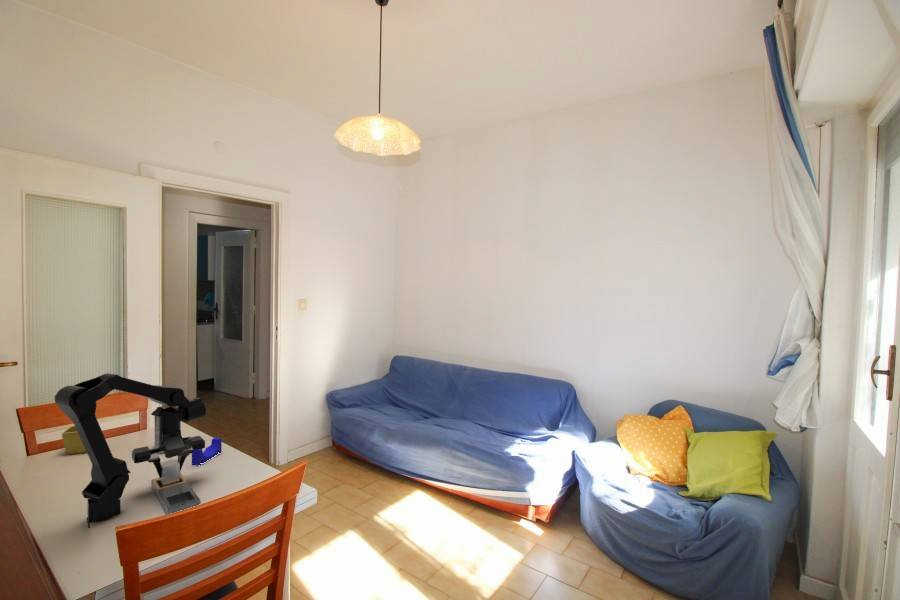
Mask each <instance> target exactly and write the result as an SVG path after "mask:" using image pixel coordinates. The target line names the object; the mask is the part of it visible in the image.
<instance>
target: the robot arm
mask: <svg viewBox="0 0 900 600" xmlns="http://www.w3.org/2000/svg"><path fill="white" fill-rule="evenodd" d="M114 390H117V391H120V392H124V393H128V394H133V395H136V396H140V397H145V398H146V399H149V401H152V402H155V403H157V404H159V405H161V406H172V407H167V408H161V406H157V407H156V409H155V410H153V411H152V412H151V414H150V415H151V416H153V417H155V416H158V417H159V448H154V447H153V448H149V446H141V447H137V448H134V449H132V451H131V460H132V461H133V463H134V464H140V463H143V462H144V463H145V462H148V463H150V464H151V463H153V465H154V468H155V470H156V472H157V475H158V478H161V477H162V472H161V465H160V462H161V458H160V456H159V455H160V454H161V453H162V454H163V455H164V458H166V459H172V458H174V457H177V460H178V462H179V463H180V472H182V468H183V465H184V464H185V461H186V459H187V458H188V456H189V455H190V454H191V455H192V453H193V451H192V449H193V450H199V449H202V450H203V449H206V441H205V439H204V438H203V437H202V436H201V435H196V436H187V437H186V436H185V437H183V436H182V430H181V429H182V427H181V424H182V422H183V423H188V422H191V421H195V420H198V419H202V418H204V417H205V415H206V412H207V408H206V407H205V403H203V401H202V399H203V398H201V397H194V398H193V399H190V400H189V399H188V398H187V397H186V396H185V392H184V390H183V389H182V388H179V387H174V386H169V385H157V384H155V385H154V384H153V385H152V384H150V383H146V382H142V381H139V380H138V381H137V380H134V379H131V378H126V377H124V376H121V375H119V374H115V373H109V372H108V373H107V372H106V373H103V374H100V375H99V376H97V377H94V378H90V379H88V380H84V381H80V382H78V383H76V384H73V385H72V384H71V385H67V386H63V387H62V388H60V389H59V390H58V391H57V392H56V394H55V395H54V403H55V404H56V405H57V407H58V408H59V410H60V411H62V413H63V414H64V415H65V416H67V417H68V418H69V420H71V421H72V424H73V426H75V427H76V429H77V432H78V434H79V436H80V438H81V440H82V443H83V445H84V447H85V449H86V452H85V453H86V455H88V458H89V461H90V463H91V471H90V477H91V481H89V482H88V484H87V485H86V487H85V488H84V489H82V491H81V494H82V496H83V498H84V499H87V517H86V523H87V528H88V529H91V526H90V525H91V524H90V523H101V522H104V521H108V520H110V519H112V518H114V517H116V516H118V515H120V514H121V498H122V496H123V493H124V490H125V488H126V485H127V484H128V483H129V481H130V474H131V471H130V469H128V465H127V461H126V460H124V459H121V458H117V457H114V456H113V454H112V451H111V448H110V446H109V444H108V442H107V439H106V437H105V435H104V433H103V431H102V428H101V425H100V423H99V421H98V419H97V416H96V412H97V411H96V410H97V406H98V405H97V404H98V403H97V401H99V400H101V399H103V398H105V397H106V396H107V395H108V394H109V393H111V392H112V391H114ZM173 407H176V408H173ZM181 421H182V422H181ZM162 454H161V455H162Z"/></svg>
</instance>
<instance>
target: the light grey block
mask: <svg viewBox="0 0 900 600" xmlns="http://www.w3.org/2000/svg"><path fill="white" fill-rule="evenodd" d="M160 465H161V472H162V477H161V478H160V477H159V478H160V486H161V487H165V486H169V485H172V484H176V483H180V472H181V471H180V463H179V462H178V458H173V459H168V460H165V461H160Z"/></svg>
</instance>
